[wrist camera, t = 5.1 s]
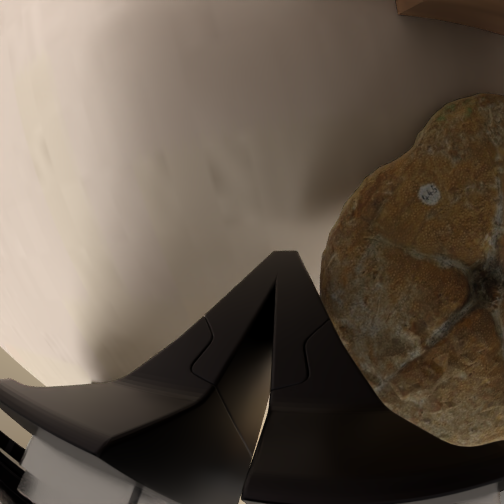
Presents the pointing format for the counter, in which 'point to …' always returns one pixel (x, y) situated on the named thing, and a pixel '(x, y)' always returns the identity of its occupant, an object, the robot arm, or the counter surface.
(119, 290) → the counter surface
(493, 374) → the fossil
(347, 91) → the counter surface
